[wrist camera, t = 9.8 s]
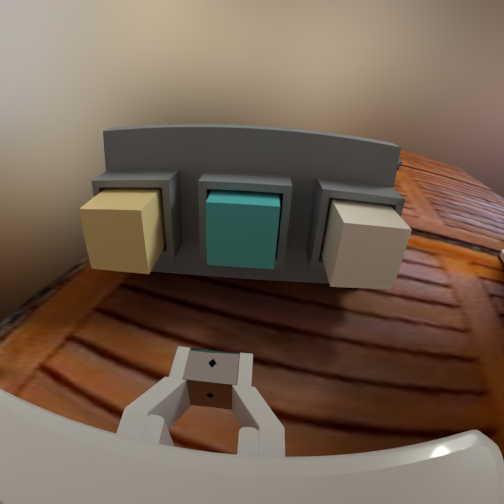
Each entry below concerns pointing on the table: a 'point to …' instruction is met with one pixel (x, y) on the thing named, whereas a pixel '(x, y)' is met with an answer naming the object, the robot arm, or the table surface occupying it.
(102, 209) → the button mustard
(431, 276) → the table surface
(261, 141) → the control panel
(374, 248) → the button cream
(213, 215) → the button teal
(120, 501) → the robot arm
